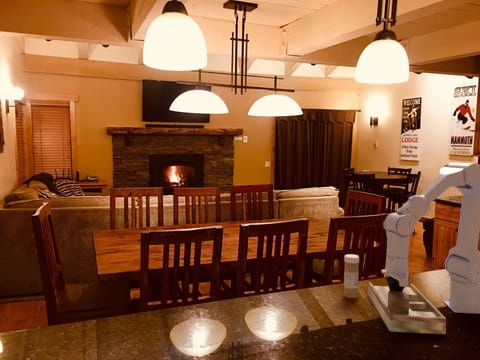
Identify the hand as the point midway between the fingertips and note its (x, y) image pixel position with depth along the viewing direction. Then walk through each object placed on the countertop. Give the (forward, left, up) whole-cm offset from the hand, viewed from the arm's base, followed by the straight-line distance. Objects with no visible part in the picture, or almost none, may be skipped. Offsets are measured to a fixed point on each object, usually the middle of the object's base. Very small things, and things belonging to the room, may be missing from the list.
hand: (395, 302), depth 112 cm
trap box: (-3, -4, -4) cm, 6 cm away
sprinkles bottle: (+10, -15, -4) cm, 18 cm away
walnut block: (0, +3, -1) cm, 3 cm away
